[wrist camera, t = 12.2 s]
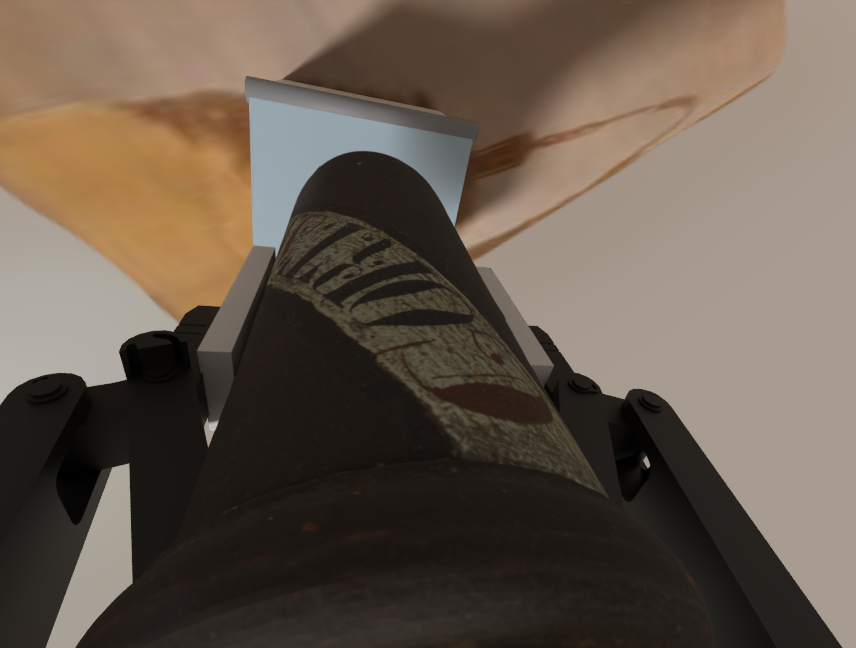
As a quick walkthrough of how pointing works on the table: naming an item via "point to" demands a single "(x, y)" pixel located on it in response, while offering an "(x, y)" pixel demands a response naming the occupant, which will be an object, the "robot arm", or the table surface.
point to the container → (396, 465)
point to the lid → (341, 146)
